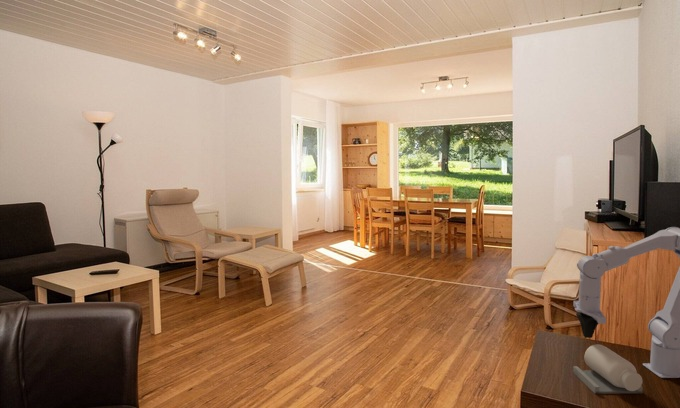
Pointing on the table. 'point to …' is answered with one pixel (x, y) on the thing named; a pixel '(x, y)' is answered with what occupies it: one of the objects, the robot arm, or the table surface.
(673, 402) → the table surface
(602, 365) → the pill bottle
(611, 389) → the grey tray
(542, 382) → the table surface
